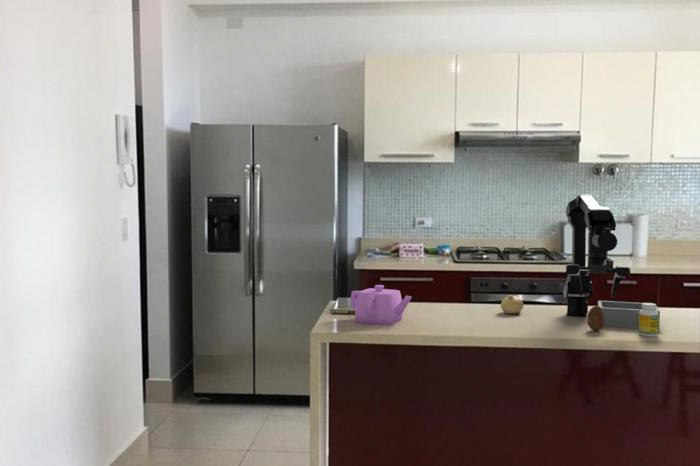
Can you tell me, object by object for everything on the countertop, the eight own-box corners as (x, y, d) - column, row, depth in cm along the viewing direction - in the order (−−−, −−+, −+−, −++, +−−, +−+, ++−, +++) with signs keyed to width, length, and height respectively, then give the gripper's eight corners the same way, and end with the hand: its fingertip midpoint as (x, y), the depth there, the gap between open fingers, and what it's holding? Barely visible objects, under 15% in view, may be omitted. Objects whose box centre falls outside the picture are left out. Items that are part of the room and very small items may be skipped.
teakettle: (347, 318, 220) (347, 283, 220) (391, 314, 226) (391, 280, 225) (365, 328, 205) (365, 290, 204) (412, 324, 210) (412, 287, 210)
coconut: (595, 333, 196) (595, 307, 196) (583, 329, 201) (584, 305, 200) (608, 331, 198) (608, 306, 197) (596, 328, 203) (596, 303, 202)
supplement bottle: (644, 332, 197) (645, 301, 197) (661, 335, 193) (662, 304, 192) (634, 334, 194) (635, 303, 194) (651, 337, 190) (652, 306, 189)
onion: (498, 311, 232) (498, 292, 231) (519, 311, 232) (519, 292, 231) (504, 315, 224) (504, 296, 223) (526, 315, 224) (526, 295, 223)
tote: (598, 325, 206) (599, 307, 206) (597, 317, 220) (598, 300, 219) (659, 329, 200) (659, 311, 200) (654, 321, 213) (655, 303, 213)
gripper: (566, 249, 193) (564, 299, 194) (632, 251, 187) (630, 303, 188) (566, 246, 204) (565, 294, 205) (629, 248, 197) (628, 297, 198)
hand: (596, 297), depth 199 cm, fingers open, 9 cm apart
